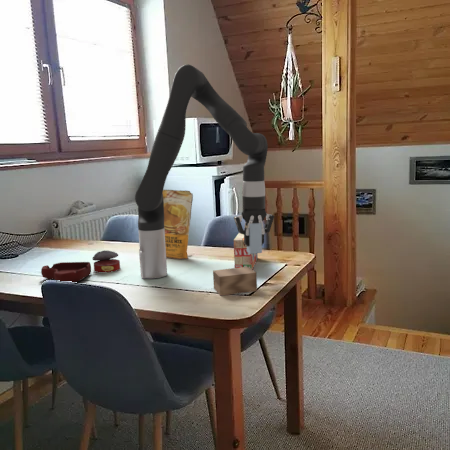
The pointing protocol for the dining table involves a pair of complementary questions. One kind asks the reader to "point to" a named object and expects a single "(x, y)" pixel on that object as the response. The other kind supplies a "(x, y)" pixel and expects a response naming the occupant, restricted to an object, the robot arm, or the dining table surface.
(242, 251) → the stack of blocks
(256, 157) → the robot arm
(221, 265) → the dining table surface
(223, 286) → the step
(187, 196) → the pancake mix bag
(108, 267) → the canned food
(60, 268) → the ashtray
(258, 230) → the block
